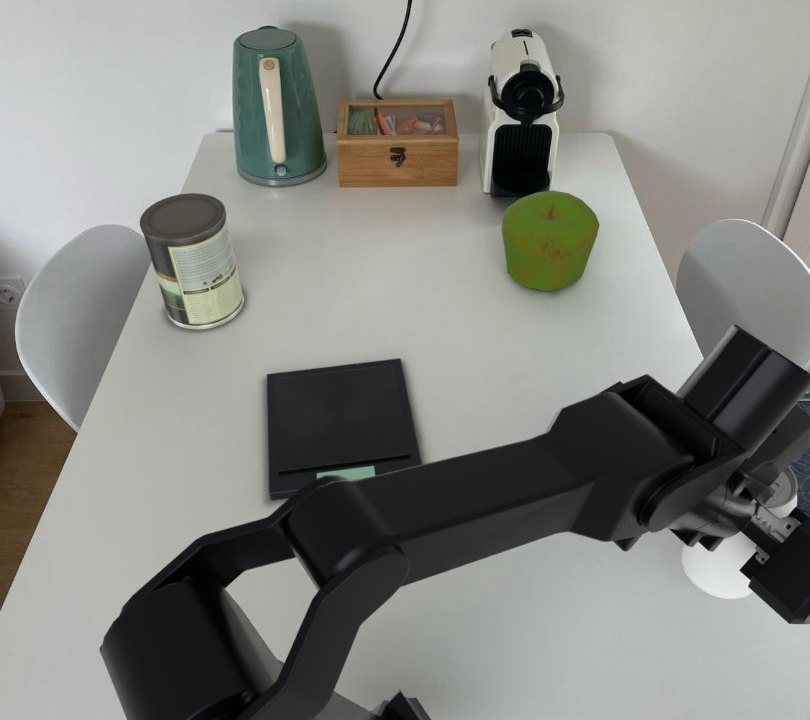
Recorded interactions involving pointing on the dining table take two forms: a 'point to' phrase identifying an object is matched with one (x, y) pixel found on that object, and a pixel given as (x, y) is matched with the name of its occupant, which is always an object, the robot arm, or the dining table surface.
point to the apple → (548, 239)
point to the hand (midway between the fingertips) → (751, 513)
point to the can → (736, 548)
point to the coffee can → (193, 260)
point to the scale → (338, 424)
